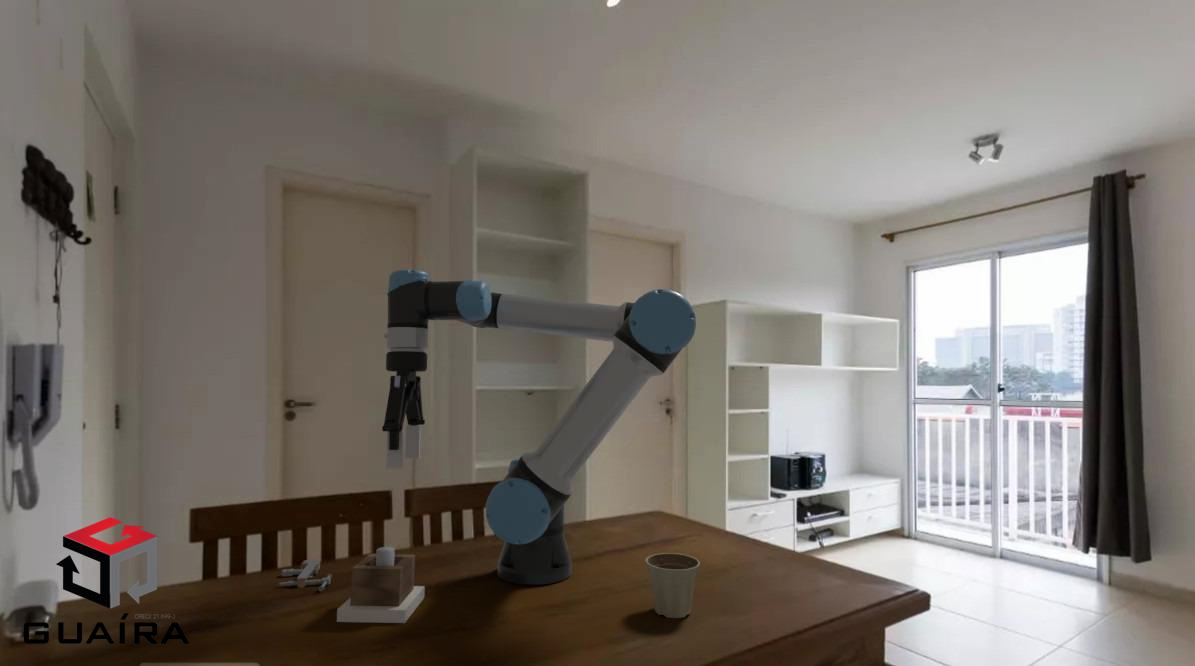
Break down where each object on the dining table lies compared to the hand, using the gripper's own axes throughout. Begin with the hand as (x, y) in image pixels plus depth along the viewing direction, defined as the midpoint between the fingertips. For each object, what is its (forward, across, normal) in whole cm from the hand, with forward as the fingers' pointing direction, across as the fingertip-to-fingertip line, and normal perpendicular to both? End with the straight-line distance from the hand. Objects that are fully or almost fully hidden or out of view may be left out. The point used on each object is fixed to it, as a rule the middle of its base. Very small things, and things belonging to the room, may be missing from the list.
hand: (404, 463), depth 111 cm
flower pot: (+25, +11, +49) cm, 56 cm away
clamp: (+24, -6, -20) cm, 31 cm away
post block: (+23, +9, -1) cm, 25 cm away
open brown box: (+21, +9, -1) cm, 23 cm away
